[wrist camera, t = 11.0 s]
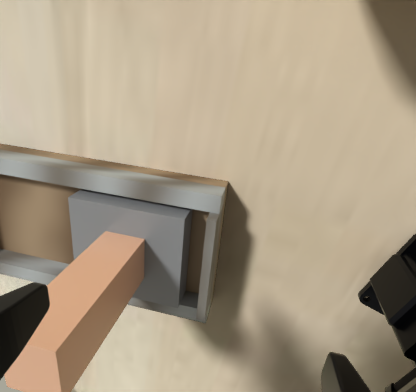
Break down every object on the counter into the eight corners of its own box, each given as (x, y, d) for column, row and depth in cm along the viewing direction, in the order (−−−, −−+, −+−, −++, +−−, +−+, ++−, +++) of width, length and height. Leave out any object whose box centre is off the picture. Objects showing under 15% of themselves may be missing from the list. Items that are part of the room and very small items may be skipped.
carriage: (192, 206, 21) (115, 330, 11) (185, 290, 24) (119, 448, 14) (85, 186, 22) (-72, 282, 12) (91, 268, 25) (-33, 399, 15)
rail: (228, 181, 21) (218, 203, 18) (212, 297, 25) (202, 333, 22) (-30, 138, 24) (-80, 150, 21) (-6, 248, 29) (-45, 272, 25)
